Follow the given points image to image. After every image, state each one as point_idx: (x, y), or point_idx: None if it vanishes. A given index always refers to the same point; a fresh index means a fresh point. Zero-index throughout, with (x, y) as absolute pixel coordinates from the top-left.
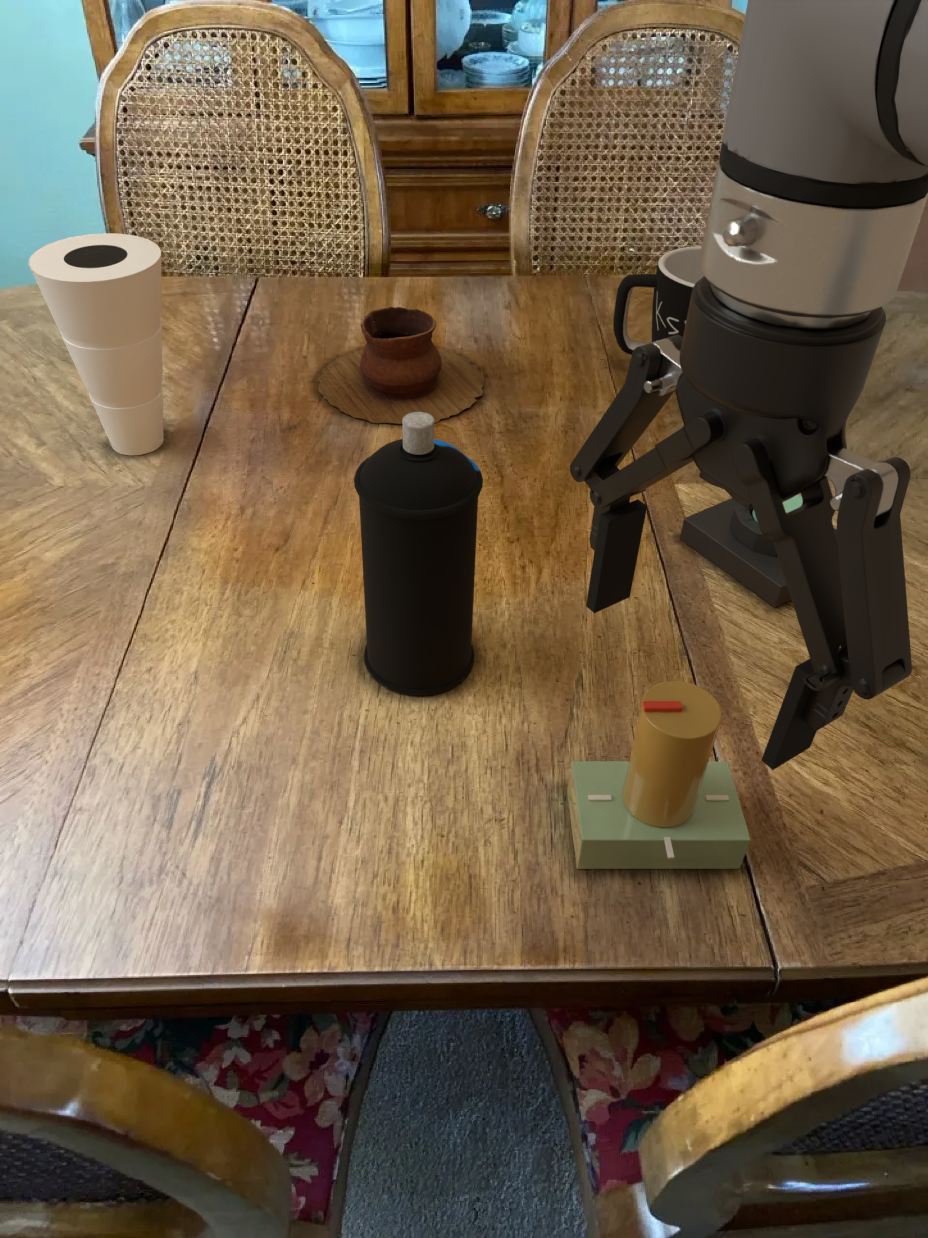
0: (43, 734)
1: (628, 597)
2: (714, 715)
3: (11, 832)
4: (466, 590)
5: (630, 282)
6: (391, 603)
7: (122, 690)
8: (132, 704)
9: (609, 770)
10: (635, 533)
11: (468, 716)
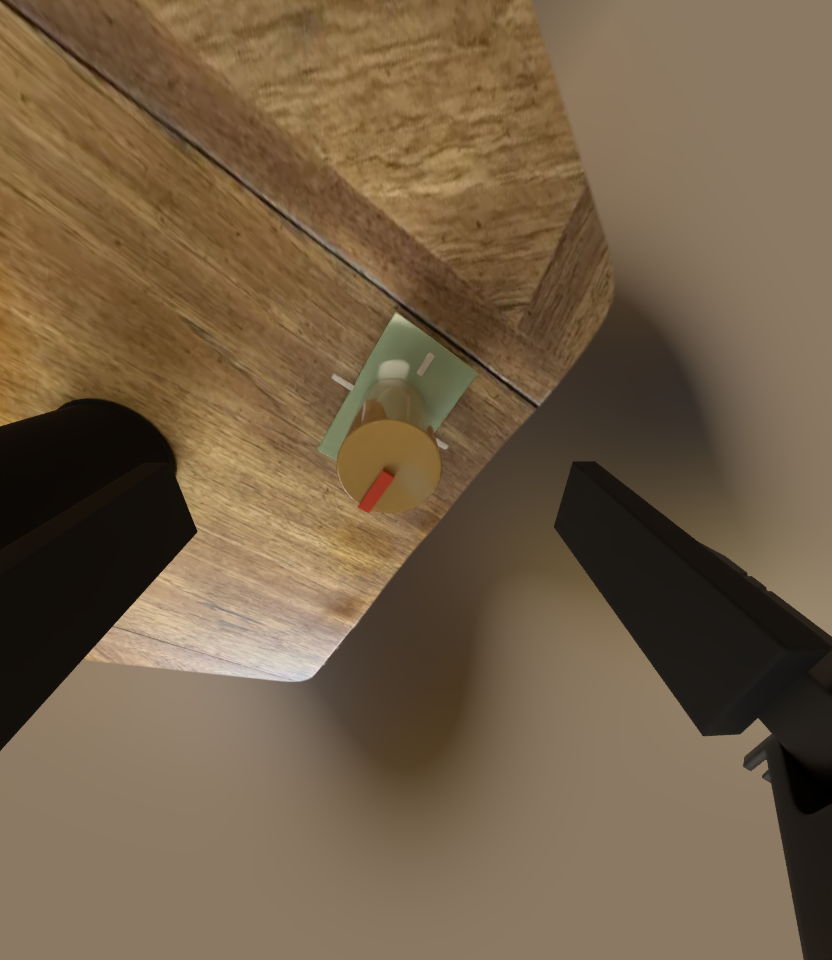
0: (150, 656)
1: (170, 465)
2: (424, 445)
3: (222, 674)
4: (46, 489)
5: None
6: None
7: (116, 623)
8: (132, 622)
9: (342, 428)
10: (7, 603)
11: (212, 454)
